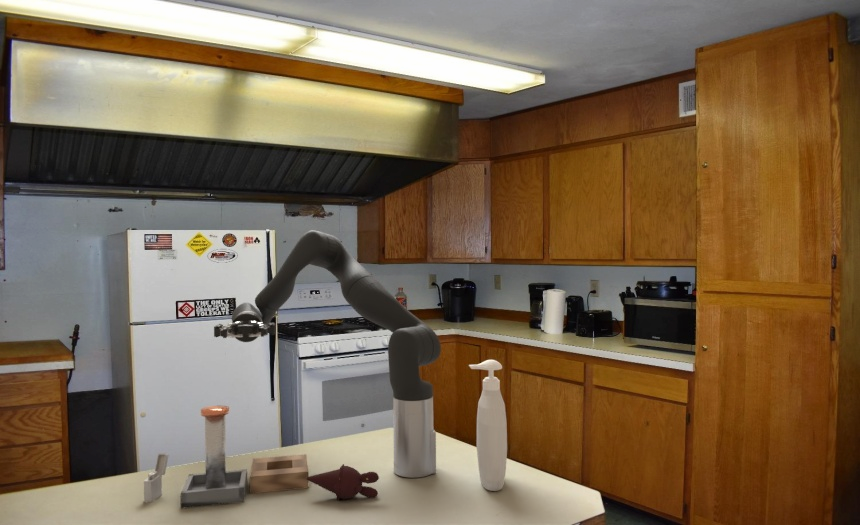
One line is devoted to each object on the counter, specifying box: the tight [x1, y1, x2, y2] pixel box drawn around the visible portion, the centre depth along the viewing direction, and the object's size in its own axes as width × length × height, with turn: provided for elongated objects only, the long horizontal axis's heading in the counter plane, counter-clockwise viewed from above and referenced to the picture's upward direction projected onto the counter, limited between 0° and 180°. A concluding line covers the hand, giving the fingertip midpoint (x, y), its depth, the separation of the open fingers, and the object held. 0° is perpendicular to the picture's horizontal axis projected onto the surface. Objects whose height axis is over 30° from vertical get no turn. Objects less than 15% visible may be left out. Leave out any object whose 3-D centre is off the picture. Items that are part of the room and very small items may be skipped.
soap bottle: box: [468, 359, 508, 492], centre depth 131 cm, size 14×8×27 cm, turn 0°
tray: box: [180, 468, 248, 509], centre depth 127 cm, size 12×11×3 cm
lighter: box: [143, 453, 169, 503], centre depth 127 cm, size 7×2×8 cm, turn 176°
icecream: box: [307, 464, 380, 501], centre depth 125 cm, size 7×7×15 cm
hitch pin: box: [200, 405, 230, 489], centre depth 127 cm, size 6×6×17 cm
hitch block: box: [249, 453, 310, 494], centre depth 135 cm, size 12×12×4 cm
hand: (243, 332), depth 142 cm, fingers open, 8 cm apart
